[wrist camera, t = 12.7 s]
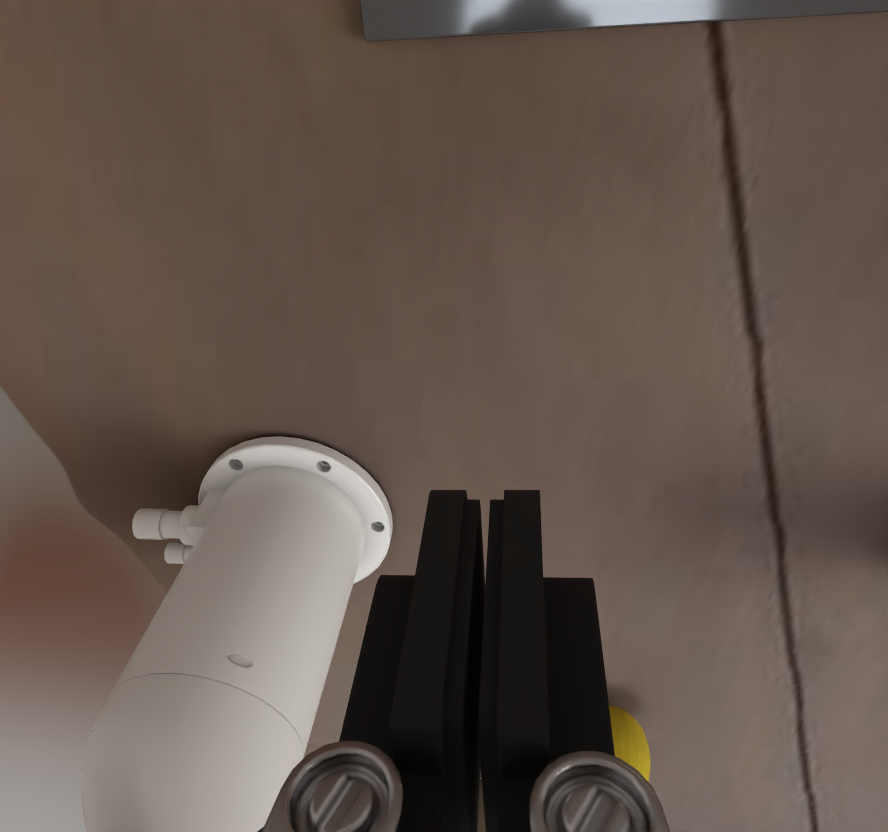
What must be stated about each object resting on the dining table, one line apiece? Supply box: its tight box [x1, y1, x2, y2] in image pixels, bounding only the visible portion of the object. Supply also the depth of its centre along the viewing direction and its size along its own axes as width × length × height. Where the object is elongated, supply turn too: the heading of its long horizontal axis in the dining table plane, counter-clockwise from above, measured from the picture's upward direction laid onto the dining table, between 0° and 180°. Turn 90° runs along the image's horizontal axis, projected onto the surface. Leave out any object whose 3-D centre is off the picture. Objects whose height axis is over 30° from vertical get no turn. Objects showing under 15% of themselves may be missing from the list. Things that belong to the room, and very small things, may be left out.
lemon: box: [609, 704, 650, 781], centre depth 50 cm, size 6×6×8 cm
